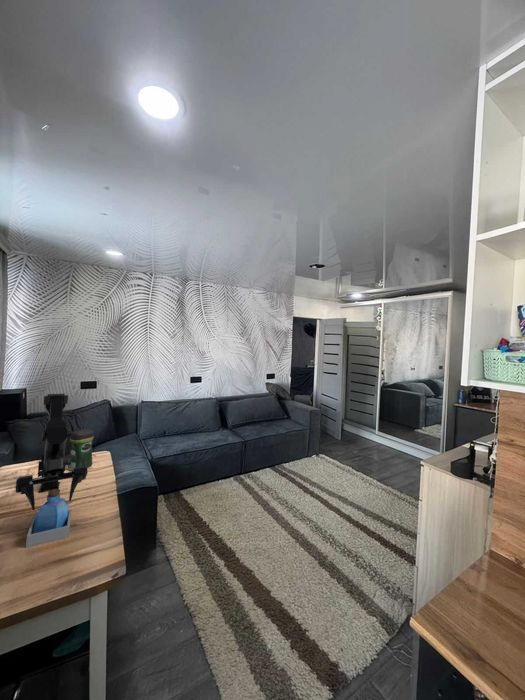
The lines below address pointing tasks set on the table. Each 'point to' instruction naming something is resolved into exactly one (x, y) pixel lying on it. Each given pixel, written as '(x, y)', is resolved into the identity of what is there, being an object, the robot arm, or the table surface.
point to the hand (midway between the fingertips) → (52, 505)
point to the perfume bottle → (52, 513)
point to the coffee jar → (81, 448)
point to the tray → (47, 533)
